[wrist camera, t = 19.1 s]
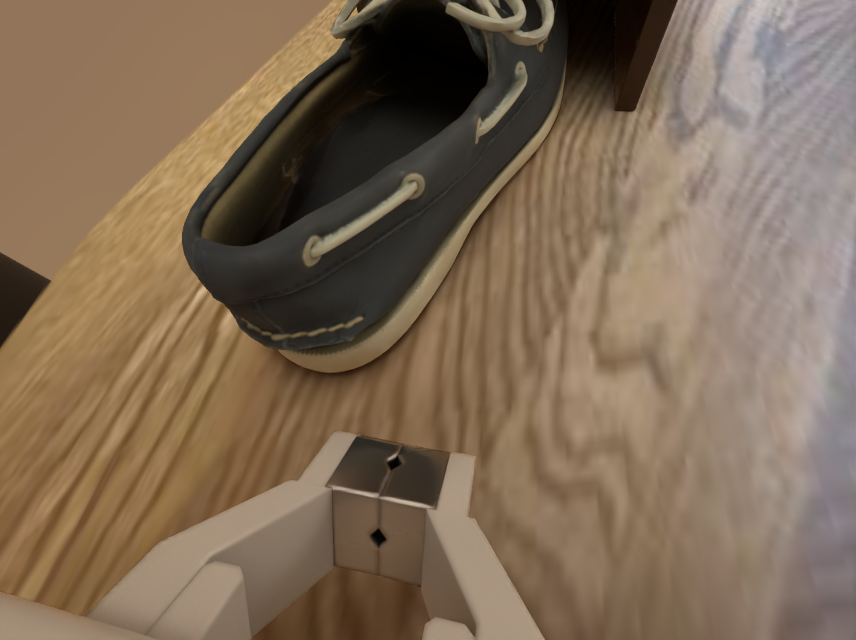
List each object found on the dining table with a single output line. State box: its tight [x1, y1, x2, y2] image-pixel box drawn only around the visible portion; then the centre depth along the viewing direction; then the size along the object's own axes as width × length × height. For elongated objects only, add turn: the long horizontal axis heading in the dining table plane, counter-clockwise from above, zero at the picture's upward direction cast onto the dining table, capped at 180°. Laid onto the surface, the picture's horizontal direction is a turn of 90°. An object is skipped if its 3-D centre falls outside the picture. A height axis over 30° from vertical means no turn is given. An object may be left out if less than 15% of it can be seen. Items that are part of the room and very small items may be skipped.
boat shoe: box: [182, 0, 569, 373], centre depth 18 cm, size 26×10×8 cm, turn 148°
